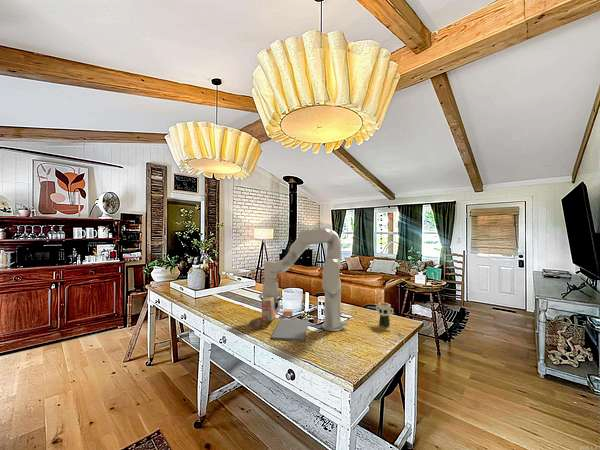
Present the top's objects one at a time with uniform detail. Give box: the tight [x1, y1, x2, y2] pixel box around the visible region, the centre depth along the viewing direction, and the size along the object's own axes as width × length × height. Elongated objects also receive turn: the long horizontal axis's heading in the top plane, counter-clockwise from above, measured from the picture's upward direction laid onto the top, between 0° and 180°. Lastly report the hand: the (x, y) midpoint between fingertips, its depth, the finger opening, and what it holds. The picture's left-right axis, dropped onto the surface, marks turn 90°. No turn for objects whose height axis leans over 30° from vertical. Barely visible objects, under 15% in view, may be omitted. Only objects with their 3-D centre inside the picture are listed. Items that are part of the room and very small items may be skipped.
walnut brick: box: [248, 319, 262, 330], centre depth 157 cm, size 6×4×4 cm, turn 77°
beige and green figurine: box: [375, 302, 394, 327], centre depth 163 cm, size 11×7×13 cm, turn 54°
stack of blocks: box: [261, 296, 281, 322], centre depth 169 cm, size 21×6×12 cm, turn 171°
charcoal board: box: [270, 318, 310, 342], centre depth 154 cm, size 18×28×1 cm, turn 174°
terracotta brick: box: [282, 309, 293, 318], centre depth 178 cm, size 6×4×4 cm, turn 99°
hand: (271, 308), depth 169 cm, fingers closed on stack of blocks, 6 cm apart
